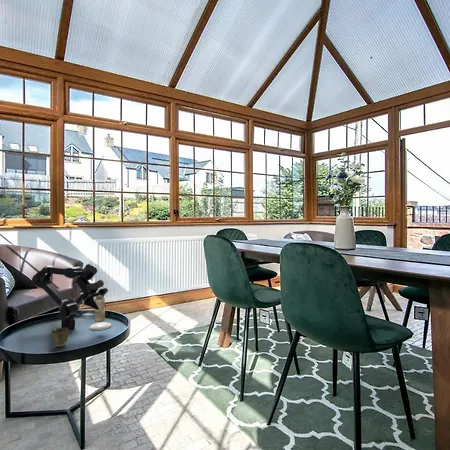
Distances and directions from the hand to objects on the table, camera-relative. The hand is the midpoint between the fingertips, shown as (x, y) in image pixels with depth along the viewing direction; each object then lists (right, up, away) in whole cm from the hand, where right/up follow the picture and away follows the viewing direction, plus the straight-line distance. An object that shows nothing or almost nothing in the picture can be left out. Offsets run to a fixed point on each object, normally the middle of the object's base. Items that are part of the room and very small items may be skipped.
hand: (101, 308), depth 174 cm
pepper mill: (-1, -7, 0) cm, 7 cm away
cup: (-13, -14, -18) cm, 26 cm away
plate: (-5, -13, +10) cm, 17 cm away
